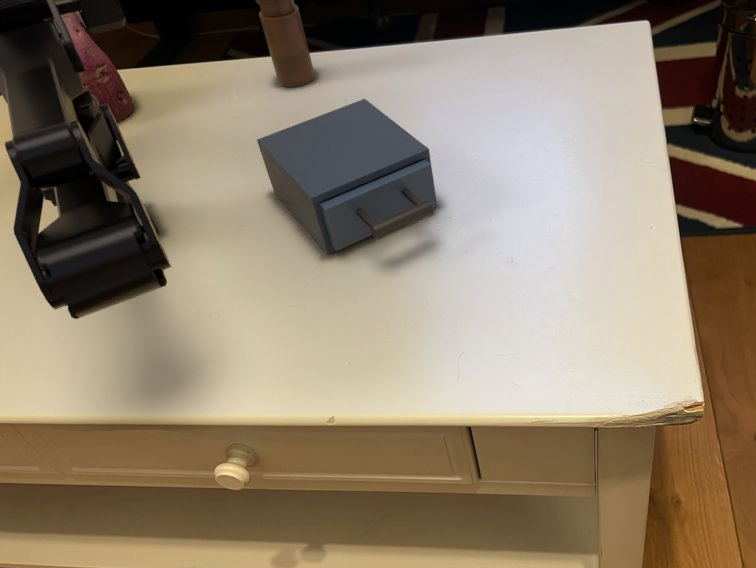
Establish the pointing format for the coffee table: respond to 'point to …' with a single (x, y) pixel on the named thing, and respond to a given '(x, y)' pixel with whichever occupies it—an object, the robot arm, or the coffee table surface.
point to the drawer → (380, 205)
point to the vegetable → (99, 71)
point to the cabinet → (334, 159)
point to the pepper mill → (286, 42)
